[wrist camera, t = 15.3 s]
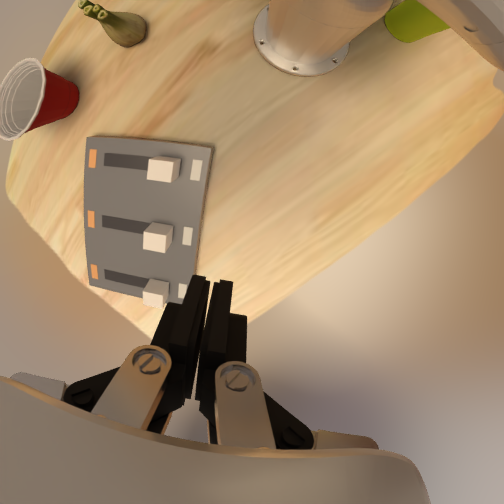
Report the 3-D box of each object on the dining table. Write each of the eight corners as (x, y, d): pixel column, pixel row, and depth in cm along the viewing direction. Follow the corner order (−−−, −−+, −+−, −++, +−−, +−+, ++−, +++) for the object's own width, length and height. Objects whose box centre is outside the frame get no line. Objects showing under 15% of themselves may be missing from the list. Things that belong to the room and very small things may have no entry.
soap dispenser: (377, 31, 25) (462, -15, 7) (390, 4, 23) (466, -43, 5) (409, 54, 26) (504, 30, 8) (420, 26, 24) (506, -4, 6)
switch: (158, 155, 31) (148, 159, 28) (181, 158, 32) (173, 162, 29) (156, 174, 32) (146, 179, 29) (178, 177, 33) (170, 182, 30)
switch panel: (95, 135, 32) (86, 137, 30) (214, 147, 34) (211, 148, 31) (96, 277, 42) (89, 285, 40) (192, 299, 44) (189, 308, 41)
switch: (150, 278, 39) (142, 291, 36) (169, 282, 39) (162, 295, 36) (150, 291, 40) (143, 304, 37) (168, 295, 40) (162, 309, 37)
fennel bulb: (114, 27, 25) (71, 4, 14) (144, 11, 24) (107, -20, 13) (123, 55, 27) (77, 36, 16) (154, 39, 27) (116, 11, 16)
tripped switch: (152, 222, 35) (143, 231, 32) (173, 225, 35) (166, 235, 32) (151, 238, 36) (143, 248, 33) (172, 242, 36) (164, 253, 33)
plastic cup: (100, 64, 27) (51, 51, 17) (85, 133, 32) (33, 142, 21) (50, 68, 26) (1, 63, 15) (38, 130, 31) (-13, 140, 20)
